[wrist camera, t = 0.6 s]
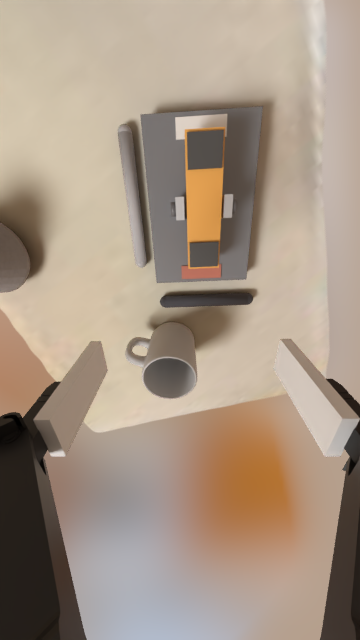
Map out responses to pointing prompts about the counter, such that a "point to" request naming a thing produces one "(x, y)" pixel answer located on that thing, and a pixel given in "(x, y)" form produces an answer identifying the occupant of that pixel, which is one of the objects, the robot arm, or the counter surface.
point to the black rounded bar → (206, 300)
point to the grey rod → (132, 193)
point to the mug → (167, 360)
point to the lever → (204, 194)
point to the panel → (170, 190)
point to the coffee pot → (12, 261)
